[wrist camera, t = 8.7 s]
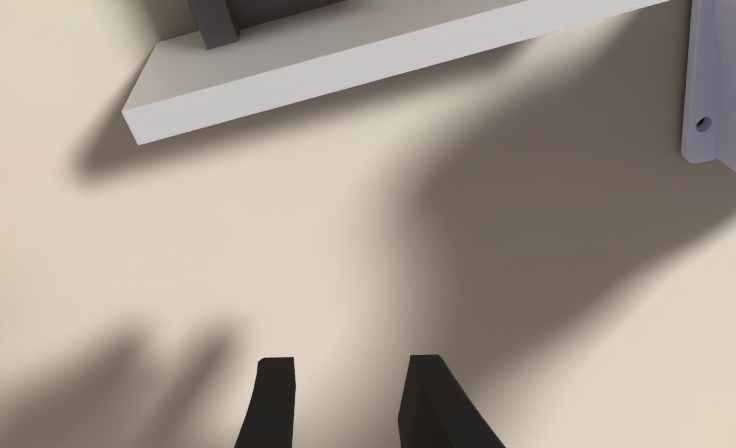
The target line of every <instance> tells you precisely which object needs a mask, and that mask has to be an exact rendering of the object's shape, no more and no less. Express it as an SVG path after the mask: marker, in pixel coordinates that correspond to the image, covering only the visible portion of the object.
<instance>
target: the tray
mask: <svg viewBox="0 0 736 448" xmlns="http://www.w3.org/2000/svg"><path fill="white" fill-rule="evenodd" d="M665 1H669V0H188V2H189V5H190V7H191V10H192V12H193V15H194V18H195V20H196V23H197V25H198V28H199V30H200V31H197V32H193V33H190V34H186V35H182V36H179V37H175V38H171V39H168V40H164V41H161V42H157V43H156V45H155V47H154V49H153V51H152V53H151V55H150V57H149V59H148V61H147V63H146V65H145V67H144V69H143V70H142V72H141V74H140V76H139V78H138V80H137V82H136V84H135V86H134V88H133V90H132V92H131V94H130V96H129V98H128V100H127V102H126V104H125V106H124V108H123V109H122V111H121V112H122V114H123V116H124V118H125V120H126V122H127V124H128V126H129V128H130V130H131V132H132V134H133V136H134V138H135V140H136V142H137V144H138V145H141V144H145V143H149V142H152V141H156V140H160V139H163V138H167V137H171V136H174V135H178V134H182V133H185V132H189V131H193V130H196V129H200V128H204V127H207V126H211V125H215V124H218V123H222V122H226V121H229V120H233V119H237V118H240V117H244V116H248V115H251V114H255V113H259V112H262V111H266V110H270V109H273V108H277V107H281V106H284V105H288V104H292V103H295V102H299V101H303V100H306V99H310V98H314V97H317V96H321V95H325V94H328V93H332V92H336V91H339V90H343V89H347V88H350V87H354V86H358V85H361V84H365V83H369V82H372V81H376V80H380V79H383V78H387V77H391V76H394V75H398V74H402V73H405V72H409V71H413V70H416V69H420V68H424V67H427V66H431V65H435V64H438V63H442V62H446V61H449V60H453V59H457V58H460V57H464V56H468V55H471V54H475V53H479V52H482V51H486V50H490V49H493V48H497V47H501V46H504V45H508V44H512V43H515V42H519V41H523V40H526V39H530V38H534V37H537V36H541V35H545V34H548V33H552V32H556V31H559V30H563V29H567V28H570V27H574V26H578V25H581V24H585V23H589V22H592V21H596V20H599V19H603V18H607V17H610V16H614V15H618V14H621V13H625V12H629V11H632V10H636V9H640V8H643V7H647V6H651V5H654V4H658V3H662V2H665Z"/></svg>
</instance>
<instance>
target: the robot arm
mask: <svg viewBox="0 0 736 448" xmlns="http://www.w3.org/2000/svg"><path fill="white" fill-rule="evenodd" d="M704 117H705V119H704V122H703V123H702V124H701V125H699V126H697V127H696V125H697V123H698V122H699V121H700V119H702V118H704ZM681 154H682V156H683V157H684V158H685V159H686V160H687V161H688V162H690V163H693V164H698V163H703V162H707V161H710V160H714V159H718V160H720V161H721V162H722V163H724V164H725V165H726V166H728V167H729V168H730V169H731V170H733V171H734V172H735V173H736V0H692V11H691V25H690V38H689V51H688V64H687V78H686V91H685V104H684V117H683V131H682V144H681ZM295 390H296V382H295V369H294V357H276V358H263V359H261V360H260V361H258V367H257V375H256V380H255V385H254V389H253V393H252V397H251V400H250V404H249V407H248V410H247V414H246V417H245V419H244V422H243V425H242V428H241V430H240V433H239V436H238V439H237V441H236V444H235V447H234V448H292V437H293V421H294V406H295ZM398 426H399V434H400V442H401V448H506V447H505V446H504V445H503V443H502V442H501V441H500V440H499V438H498V437H497V436H496V434H495V433H494V432H493V430H492V429H491V428H490V427H489V425H488V424H487V423H486V421H485V420H484V419H483V417H482V416H481V415H480V413H479V412H478V410H477V409H476V408H475V406H474V405H473V403H472V402H471V401H470V399H469V398H468V396H467V395H466V393H465V392H464V391H463V389H462V388H461V386H460V385H459V383H458V382H457V380H456V379H455V377H454V376H453V374H452V373H451V371H450V370H449V368H448V367H447V365H446V364H445V362H444V360H443V359H442V358H441V357H440V356H439V355H411V356H410V361H409V366H408V371H407V376H406V381H405V386H404V391H403V396H402V400H401V405H400V410H399V415H398Z"/></svg>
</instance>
